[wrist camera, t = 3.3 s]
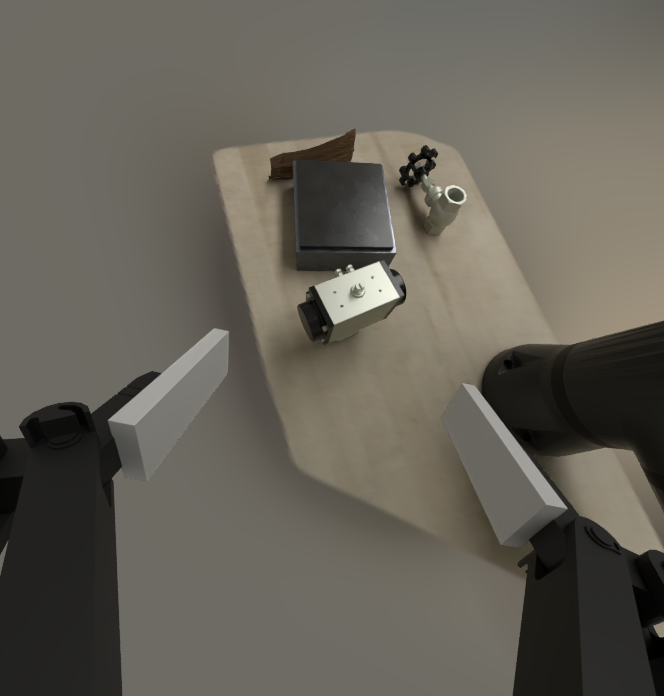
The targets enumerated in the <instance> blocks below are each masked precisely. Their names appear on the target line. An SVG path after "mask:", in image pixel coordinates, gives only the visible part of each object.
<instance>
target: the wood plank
mask: <svg viewBox="0 0 664 696" xmlns="http://www.w3.org/2000/svg"><path fill="white" fill-rule="evenodd" d="M355 134H356V132H355V129H353V130H351V131H349V132H347V133H346V134H345V135H344V136H341V137H339V138H336V139H334V140H331V141H329V142H326V143H324V144H322V145H319V146H316V147H313V148H310V149H306V150H301V151H296V152H289V153H282V154H280V155H277V156H275V157H272V158H270V161H271V176H269V180H270V179H273V178H276V177H279V178H281V177H283V178H293V161H296V159H300V160H318V161H336V162H349V161H351V160H352V154H353V151H354V142H355Z"/></svg>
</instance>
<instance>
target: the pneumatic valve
mask: <svg viewBox="0 0 664 696" xmlns="http://www.w3.org/2000/svg"><path fill="white" fill-rule="evenodd" d="M346 271H347V272H348V273H346V274H343V273H342V271H341V269H337V270H336V271H335V272H334V273H335V275H336V278H333V279H330V280H328V281H325V282H322V283H320V284H317V285H314V286H312V287H309V291H308V292H306V302H304V303H301V304H299V305H298V306H297V309H298V313H299V316H300V319H301V322H302V324H303V327H304V329H305V331H306V333H307V335H308V337H309V338H310V340H311V341H312V342H314V341H317V340H319V339H320V341H321V342H323V344H324V345H325V344H328V343H330V342H332V341H337V342H339V341H341V340H343V339H346V338H348V337H350V336H353V335H355V334H357V333H358V331H359V330H360V329H362V328H364V327H367V326H369V325H371V324H374V323H376V322H378V321H380V320H383V319H385V318H387V316H388V315H389V314H390V313H391V312H392V310H393V309H394V308H395V307H396V306H399V305H401V304H403V303H404V301H405V299H406V287H405V283H404V281H403V279H402V277H401V275H400V274H399V273H398V272H397V271H395V270H393V269H389V268H388V266H387V264H386V263H385V261H384V260H381V261H378V262H376V263H373V264H370V265H368V266H365V267H362V268H360V269H357V270H354V269H353V266H352V265H348V266H347V267H346Z"/></svg>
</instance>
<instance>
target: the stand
mask: <svg viewBox="0 0 664 696" xmlns="http://www.w3.org/2000/svg"><path fill="white" fill-rule="evenodd" d="M293 179H294V207H295V235H296V260H297V271H336V270H337V269H341V271H346V267H347V266H348V265H352V266H353V269H354V270H357V269H360V268H362V267H365V266H368V265H370V264H373V263H376V262H378V261H381V260H384V261H385V263H386V264H387V266H388V267H389V265H390V263H391V262H392V260H393V258H394V256H395V254H396V248H395V241H394V235H393V229H392V222H391V216H390V210H389V203H388V197H387V190H386V184H385V178H384V171H383V165H381V164H373V163H354V162H336V161H318V160H300V159H296V161H293Z"/></svg>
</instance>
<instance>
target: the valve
mask: <svg viewBox="0 0 664 696" xmlns="http://www.w3.org/2000/svg"><path fill="white" fill-rule="evenodd" d="M437 155H438V153H437V151H436V149H435V148H434V149H432V150H431V151H430V149H429V147H428V146H427V145H425V146H423V147H422V149H421V153H420V154H419V155H417V156H416V155H415V153H411V154H410V155H409V157H408V160H409V161H410V162H409V163H408V165H407V166H402V167H401V168H400V169H399V172H400V174H401V175H402V177H401V178H400V179H399V182H400V183H401V185H402V186H403V185H405V181H406V180H408V181H407V184H408V186H409V187H413V186H414V185H416V184H419V183H420V182H422V184H421V188H422V189H423V191H424V192H425V193H427V194H426V197H425V203H426V204H427V206H428V207H431V209H430V212H429V216H428V217H427V219H426V221H425V222H424V224H423V226H424V228H425V230H426V231H427V233H428V234H431V235H436V236H439V235H440V234H441V232H442V231H443V230H444V229H445V227H446V226H448V225H449V224H451V223H452V222H453V221H454V220H455V218H456V216H457V214H458V211H459V208H460V207H461V206H462V205H463V203H464V202H465V201H466V199H467V195H466V193H465V192H464V190H463V189H462V188H460V187H458V186H453V185H449V186H448V187H447V188H446V189H445V191H444V190H443V188H442V187H440V186H439V187H434V186H435V183H434V182H433V180H432V179H431V178H430V177H428V175H429V172H430V171H431V170H432V169H434V168H435V166H436V163H435V162H434V160H431V158H432V157H435V158H436V157H437ZM421 159H427V161H426V164H425V165H423V164H422V163H421V162H418V163H416V162H417V161H419V160H421ZM415 163H416V164H415ZM414 164H415V165H414ZM410 169H412V171H413V173H414V175H413V176H409V171H410ZM427 177H428V178H427Z"/></svg>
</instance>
